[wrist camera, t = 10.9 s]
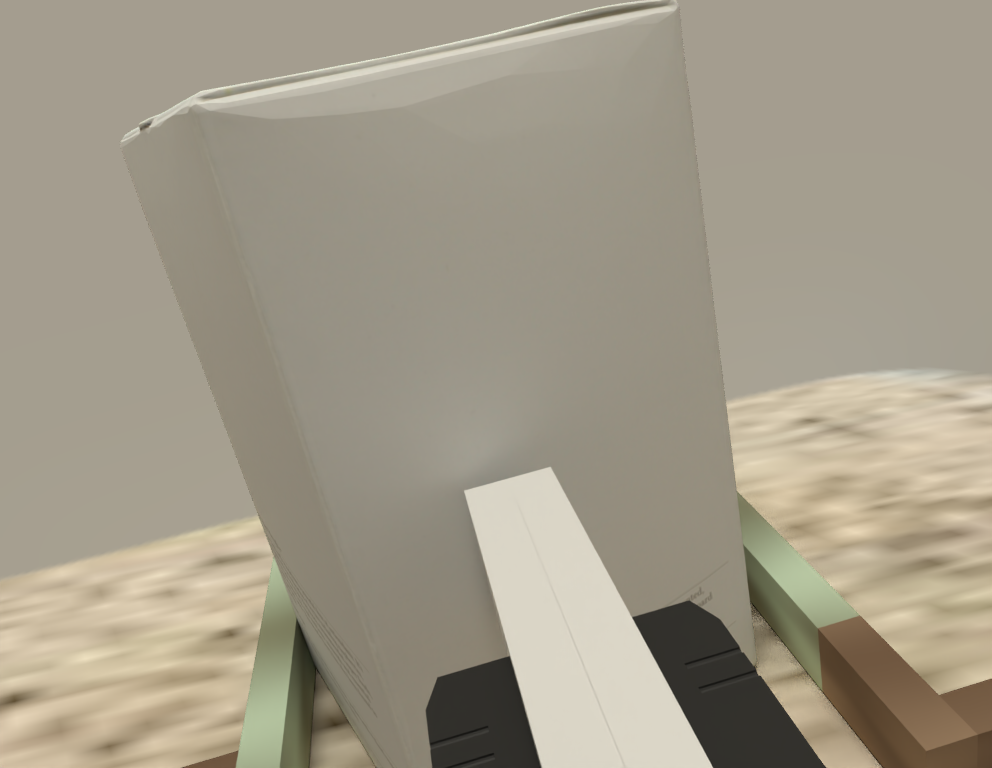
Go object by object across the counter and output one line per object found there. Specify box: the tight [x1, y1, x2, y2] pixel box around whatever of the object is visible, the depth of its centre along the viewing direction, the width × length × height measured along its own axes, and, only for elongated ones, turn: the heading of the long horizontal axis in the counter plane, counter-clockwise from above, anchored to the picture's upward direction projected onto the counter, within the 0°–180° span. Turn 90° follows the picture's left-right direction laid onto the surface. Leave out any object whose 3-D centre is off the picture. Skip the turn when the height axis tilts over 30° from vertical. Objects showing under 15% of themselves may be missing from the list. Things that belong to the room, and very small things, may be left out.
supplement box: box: [120, 0, 757, 768], centre depth 18 cm, size 9×9×15 cm
